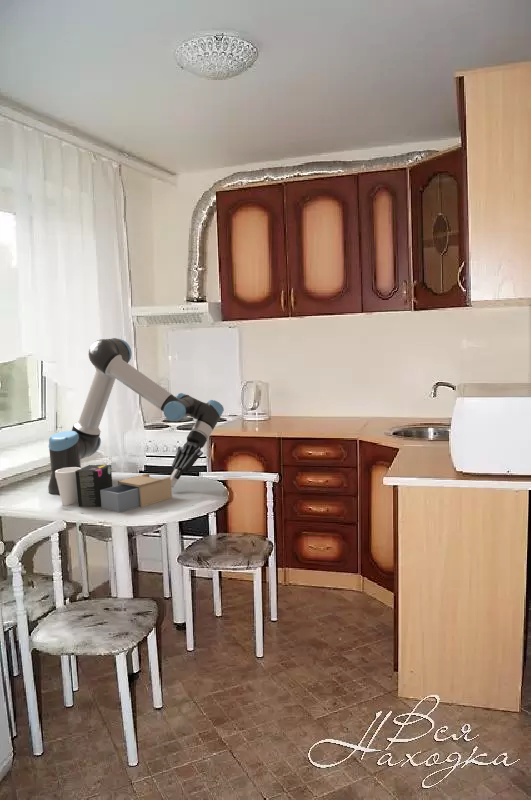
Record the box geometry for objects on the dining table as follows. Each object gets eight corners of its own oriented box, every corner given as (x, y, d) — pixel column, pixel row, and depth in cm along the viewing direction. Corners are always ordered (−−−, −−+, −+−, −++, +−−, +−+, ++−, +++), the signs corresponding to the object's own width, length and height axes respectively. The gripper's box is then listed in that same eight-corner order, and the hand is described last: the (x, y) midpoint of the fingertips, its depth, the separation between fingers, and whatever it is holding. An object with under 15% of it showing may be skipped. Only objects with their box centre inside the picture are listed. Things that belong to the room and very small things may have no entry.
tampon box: (101, 511, 231) (98, 470, 230) (77, 510, 233) (74, 470, 232) (114, 502, 242) (111, 464, 240) (91, 502, 244) (88, 464, 242)
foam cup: (54, 507, 239) (51, 473, 237) (63, 500, 248) (60, 467, 247) (79, 506, 238) (76, 472, 237) (87, 500, 248) (84, 466, 246)
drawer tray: (101, 509, 230) (100, 489, 229) (150, 495, 247) (148, 477, 246) (119, 513, 223) (118, 493, 222) (168, 498, 240) (167, 480, 239)
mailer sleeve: (119, 505, 238) (117, 481, 237) (149, 496, 248) (148, 473, 247) (142, 510, 229) (140, 485, 228) (172, 501, 240) (170, 477, 239)
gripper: (215, 441, 255) (187, 492, 245) (193, 439, 264) (164, 488, 253) (205, 430, 251) (175, 481, 240) (182, 428, 259) (153, 477, 249)
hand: (169, 485), depth 247 cm, fingers closed
